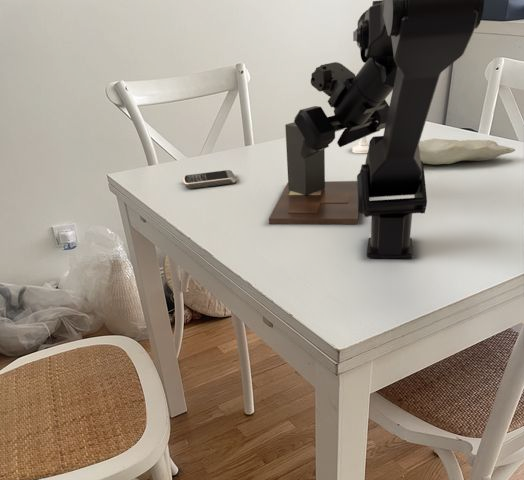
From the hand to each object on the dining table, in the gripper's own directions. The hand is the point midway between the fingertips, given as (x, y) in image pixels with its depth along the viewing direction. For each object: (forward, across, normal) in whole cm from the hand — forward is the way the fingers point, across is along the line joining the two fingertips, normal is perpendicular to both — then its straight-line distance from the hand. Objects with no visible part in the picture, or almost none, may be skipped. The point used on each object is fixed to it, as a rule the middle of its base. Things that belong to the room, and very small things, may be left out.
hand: (321, 150), depth 96 cm
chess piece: (+18, -30, -5) cm, 35 cm away
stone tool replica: (+3, -33, +10) cm, 35 cm away
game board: (+6, +2, +7) cm, 9 cm away
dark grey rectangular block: (+8, 0, +3) cm, 9 cm away
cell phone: (+25, +7, -12) cm, 29 cm away
